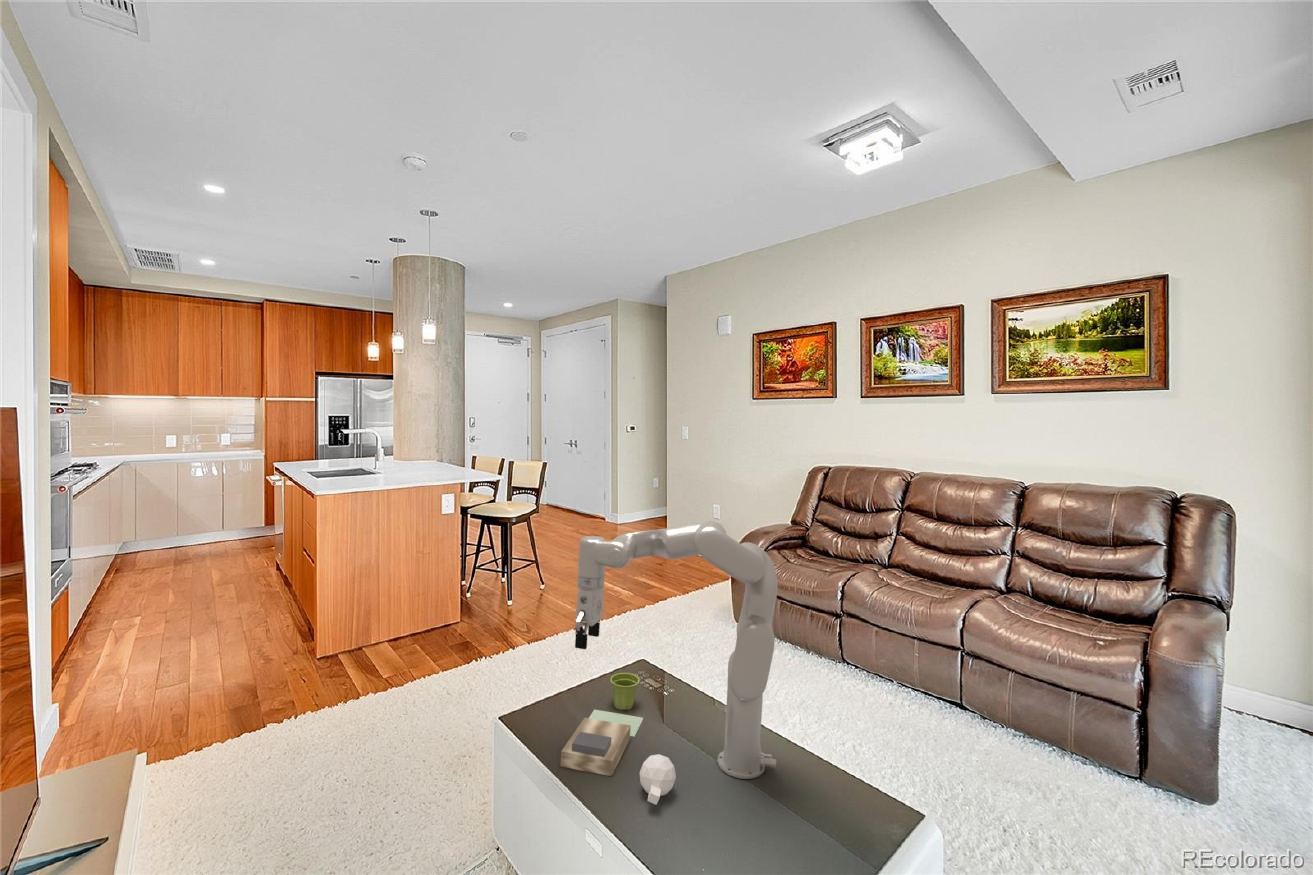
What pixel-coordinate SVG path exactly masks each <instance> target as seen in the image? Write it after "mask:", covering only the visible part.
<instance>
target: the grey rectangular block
mask: <svg viewBox="0 0 1313 875" xmlns="http://www.w3.org/2000/svg"><path fill="white" fill-rule="evenodd" d="M610 746H611V737H607V736H602V735H596V734H590V733H585V732H579V734H578V735H577V737H576V738H575V740H574V741H573V743H572V751H575V752H580V753H585V754H591V755H596V756H601V757H604V756H605V755H606V753H607V751H608V749H609V747H610Z"/></svg>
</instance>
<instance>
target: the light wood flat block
mask: <svg viewBox="0 0 1313 875" xmlns="http://www.w3.org/2000/svg"><path fill="white" fill-rule="evenodd" d="M630 728H631V725H625V724H619V723H613V722H608V721H602V720H596V719H590V718H589V717H584V718H583V719H582V720H581V722H580V724H579V725H578V727H577V728H576V729H575V731H574V732H573V734H572V735H571V737H570V738H569V739H568V741H567V743H566V744H565V745H564V747H563V748H562V750H561V751H560V767H562V768H567V769H572V770H577V771H581V772H582V771H583V772H588V773H593V774H599V775H602V776H603V775H604V776H608V777H612V776H613V774H614V772H615V770H616V768H617V766H618V764H619V762H620V760H621V758H622V756H623V754H624V752H625V750H626V748H627V746H628V744H629V742H630V740H631V737H630ZM579 732H585V733H590V734H596V735H602V736H607V737H611V746H610V747H609V749H608V751H607V753H606V755H605V756H604V757H601V756H596V755H591V754H585V753H580V752H575V751H572V743H573V741H574V740H575V738H576V737H577V735H578V734H579Z"/></svg>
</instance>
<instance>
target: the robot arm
mask: <svg viewBox="0 0 1313 875" xmlns="http://www.w3.org/2000/svg"><path fill="white" fill-rule="evenodd" d="M578 545H579V548H578V561H577V562H578V565H577V566H578V567H577V580H576V581H577V582H576V587H577V588H578V593H577V601H576V612H575V613H576V614H575V621H574V622H575V623H574V624H575V629H574V630H575V633H574V634H575V641H574V642H575V643H574V647H575V648H576V649H580V650H587V648H588V647H587V646H588V636H590V637H597V638H598V637H599V636H600V629H601V628H600V626H601V624H600V623H601V619H602V618H603V616H604V588H605V576H606V567H607V568H611V569H623V568H624V567H626V566H627V565H628V564H629V563H630V562H631V560H634V559H639V558H644V557H645V558H646V557H662V558H664V559H667V560H677V559H683V558H688V557H694V556H701V558H703V559H704V560H706V561H707V562H708V563H710V564H711V565H713V566H714V567H716V568H717V569H719V570H721V571H723V573H725V574H727V575H729V576H730V577H731V578H733V579H734V580H736V581H738V582H741V583H744V584H745V590H744V594H743V601H742V606H741V611H740V614H739V615H740V616H739V619H738V622H737V625H736V639H735V640H736V641H735V646H734V647H735V648H734V650H733V651H732V653H731V655H729V658H728V663H727V690H726V706H725V707H726V709H725V725H724V742H723V750H722V751H721V752H719V754H718V755H717V765H718V767H719V769H720V770H721V771H722V772H724V773H725V774H726V775H728V776H730V777H733V778H736V779H740V780H741V779H744V780H749V779H755V778H758V777H760V776H761V775H763V773H764V772H765V768H766V767H765V766H768V767H771V768H777V759H776V758H773V755H772V754H770V753H764V752H763V751H762V746H761V736H762V735H761V733H762V732H761V731H762V717H763V716H762V712H763V697H764V693H765V690H766V689H767V685H768V680H769V677H770V671H771V667H772V660H773V656H774V651H775V643H776V642H775V633H774V630H773V629H774V627H773V621H774V620H773V619H774V613H775V609H776V603H777V602H776V601H777V598H778V597H777V596H778V589H779V588H778V576H777V574H778V573H777V572H776V568H775V564H774V563H773V561H772V559H771V557H770V556H769V554H768V553H767V552H766V551H765V550H764V549H763V548H762V547H760V546H759V545H758V544H756V543H754V542H749V541H747V542H742V543H740V542H738V541H737V540H735V539H734V538H732V537H731V536H730V535H728V534H727V532H726V530H725V528H724V526H723V525H722V524H721V523H719V522H718V521H703V522H698V523H691V524H685V525H679V526H673V527H667V528H658V529H649V530H648V529H647V530H641V531H635V532H630V533H629V532H628V533H624V534H620V535H618V536H616V537H615V538H613V539H612V540H609V541H607V540H606V539H605V538H604V537H602V536H597V535H587V536H586V535H585V536H584V537H581V539H580V541H579V544H578ZM587 631H588V632H587Z"/></svg>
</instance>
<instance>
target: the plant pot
mask: <svg viewBox="0 0 1313 875" xmlns="http://www.w3.org/2000/svg"><path fill="white" fill-rule="evenodd" d="M640 680H641V679H640V678H639V676H638V675H636V674H633V673H629V672H619V673H616V674H613V675H612V676H611V677H610V682H611V686H612V694H613V704H614V705H613V706H614V708H615V709H617V710H620V711H623V710H626V711H629V710H631V709H632V708H633V707H634V702H635V697H636V692H637V688H638V686H639V684H640Z"/></svg>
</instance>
